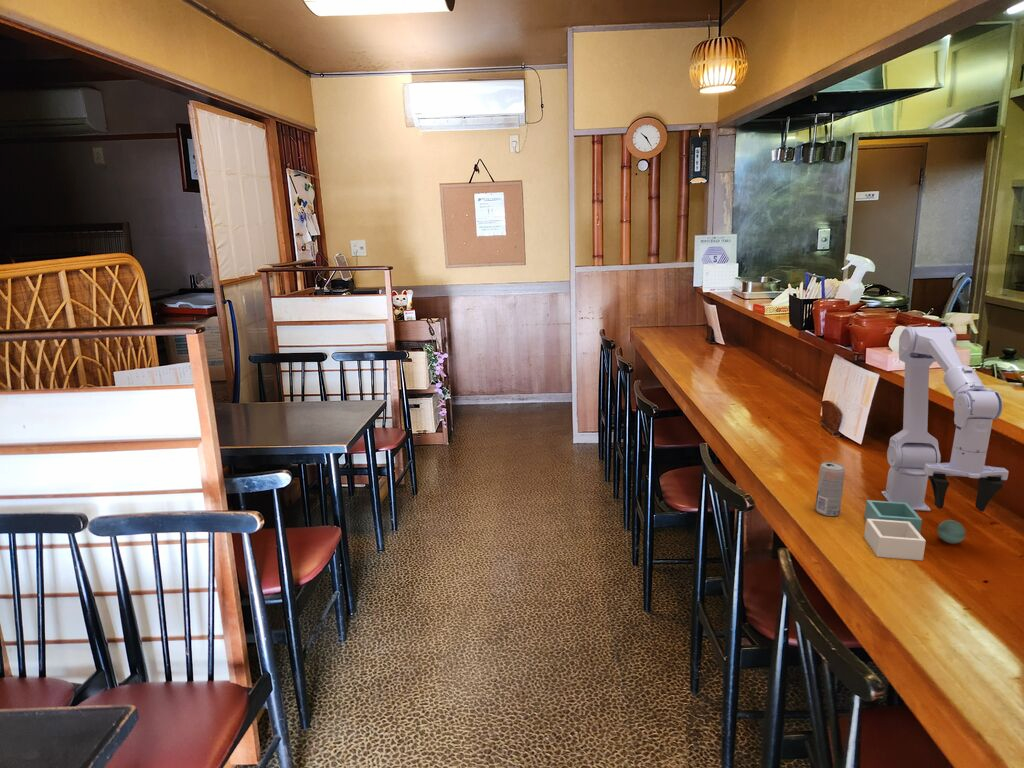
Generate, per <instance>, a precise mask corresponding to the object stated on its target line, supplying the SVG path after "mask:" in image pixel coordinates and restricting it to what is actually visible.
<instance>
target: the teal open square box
mask: <svg viewBox="0 0 1024 768" xmlns="http://www.w3.org/2000/svg"><path fill="white" fill-rule="evenodd" d="M864 519H865V520H866V519H880V520H894V521H908V522H910V523H911V524H912V525H913V526H914V527H915V529H916V530H917V531H918V532H919V533H920V534H921V530H922V523H923V519H922V518H921V517H920V515H918V513H917V512H916V510H913V509H912V508H911V507H910V505H909V504H908V503H903V502H888V500H886V501H885V500H870V499H866V502H865V511H864Z"/></svg>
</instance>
